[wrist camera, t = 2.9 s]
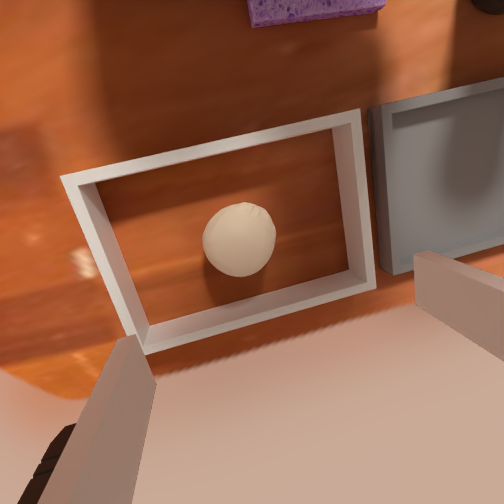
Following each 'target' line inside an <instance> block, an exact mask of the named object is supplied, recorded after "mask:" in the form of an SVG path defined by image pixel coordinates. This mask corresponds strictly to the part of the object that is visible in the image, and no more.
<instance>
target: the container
mask: <svg viewBox="0 0 504 504" xmlns="http://www.w3.org/2000/svg"><path fill="white" fill-rule="evenodd" d="M472 1H473V2H474V4H475V5H476V6H477V7H478V8H479V9H481V10H482V11H484V12H486V13H489V14H503V13H504V0H472Z"/></svg>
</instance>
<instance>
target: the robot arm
mask: <svg viewBox="0 0 504 504" xmlns="http://www.w3.org/2000/svg"><path fill="white" fill-rule="evenodd" d="M413 262H414V282H415V302H416V305H417V306H418V307H420V308H421V309H423V310H424V311H426V312H427V313H429V314H431V315H432V316H434V317H435V318H437V319H438V320H440V321H442V322H443V323H445V324H446V325H448V326H449V327H451V328H452V329H454V330H456V331H457V332H459V333H460V334H462V335H463V336H465V337H466V338H468V339H470V340H471V341H473V342H474V343H476V344H478V345H479V346H481V347H482V348H484V349H485V350H487V351H489V352H490V353H491V354H493V355H495V356H496V357H498V358H499V359H501V360H502V361H504V278H503V277H500V276H498V275H495V274H492V273H489V272H487V271H484V270H481V269H478V268H476V267H473V266H470V265H467V264H465V263H462V262H459V261H456V260H454V259H451V258H448V257H445V256H443V255H440V254H437V253H434V252H432V251H429V250H426V251H423V252H419V253H416V254H413ZM155 389H156V382H155V379H154V377H153V374H152V372H151V369H150V367H149V365H148V362H147V360H146V357H145V355H144V353H143V350H142V348H141V345H140V343H139V340H138V338H137V336H136V334H133V335H130V336H126V337H123V338H119V339H118V340H117V342H116V344H115V346H114V348H113V350H112V352H111V354H110V356H109V358H108V360H107V362H106V364H105V366H104V368H103V370H102V372H101V374H100V377H99V379H98V381H97V383H96V385H95V387H94V389H93V391H92V393H91V395H90V397H89V399H88V401H87V403H86V405H85V407H84V409H83V411H82V413H81V416H80V417H79V419H78V422H77V423H75V424H72V425H68V426H66V427H64V428H63V430H62V431H61V432H60V433H59V434H58V435H57V436H56V438H55V439H54V440H53V441H52V442H51V443H50V445H49V447H48V449H47V451H46V453H45V454H44V456H43V458H42V460H41V464H39V465H38V467H37V469H36V471H35V472H34V474H33V479H31V480H30V482H29V484H28V485H27V487H26V489H25V491H24V493H23V494H22V496H21V498H20V500H19V502H18V503H17V504H132V499H133V493H134V489H135V483H136V480H137V475H138V470H139V464H140V460H141V455H142V451H143V446H144V441H145V437H146V431H147V427H148V422H149V417H150V412H151V408H152V403H153V398H154V393H155Z"/></svg>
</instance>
